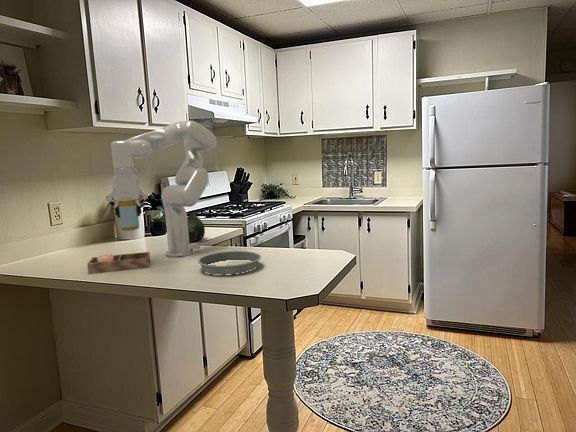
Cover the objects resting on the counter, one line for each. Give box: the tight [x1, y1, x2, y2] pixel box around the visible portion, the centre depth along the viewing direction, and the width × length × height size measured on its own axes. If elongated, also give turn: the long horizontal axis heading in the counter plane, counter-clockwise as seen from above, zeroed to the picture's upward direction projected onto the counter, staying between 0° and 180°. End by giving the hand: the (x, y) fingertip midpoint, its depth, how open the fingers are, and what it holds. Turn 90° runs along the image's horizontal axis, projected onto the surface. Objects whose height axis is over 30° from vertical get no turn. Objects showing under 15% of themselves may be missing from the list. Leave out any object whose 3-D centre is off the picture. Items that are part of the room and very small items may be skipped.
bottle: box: [118, 193, 140, 232], centre depth 178 cm, size 7×7×15 cm
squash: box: [187, 213, 206, 243], centre depth 232 cm, size 14×15×15 cm
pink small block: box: [96, 254, 114, 262], centre depth 178 cm, size 6×6×5 cm
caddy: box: [86, 251, 151, 275], centre depth 179 cm, size 22×12×5 cm, turn 104°
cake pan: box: [197, 250, 262, 275], centre depth 174 cm, size 25×25×4 cm
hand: (129, 216), depth 178 cm, fingers closed on bottle, 7 cm apart
